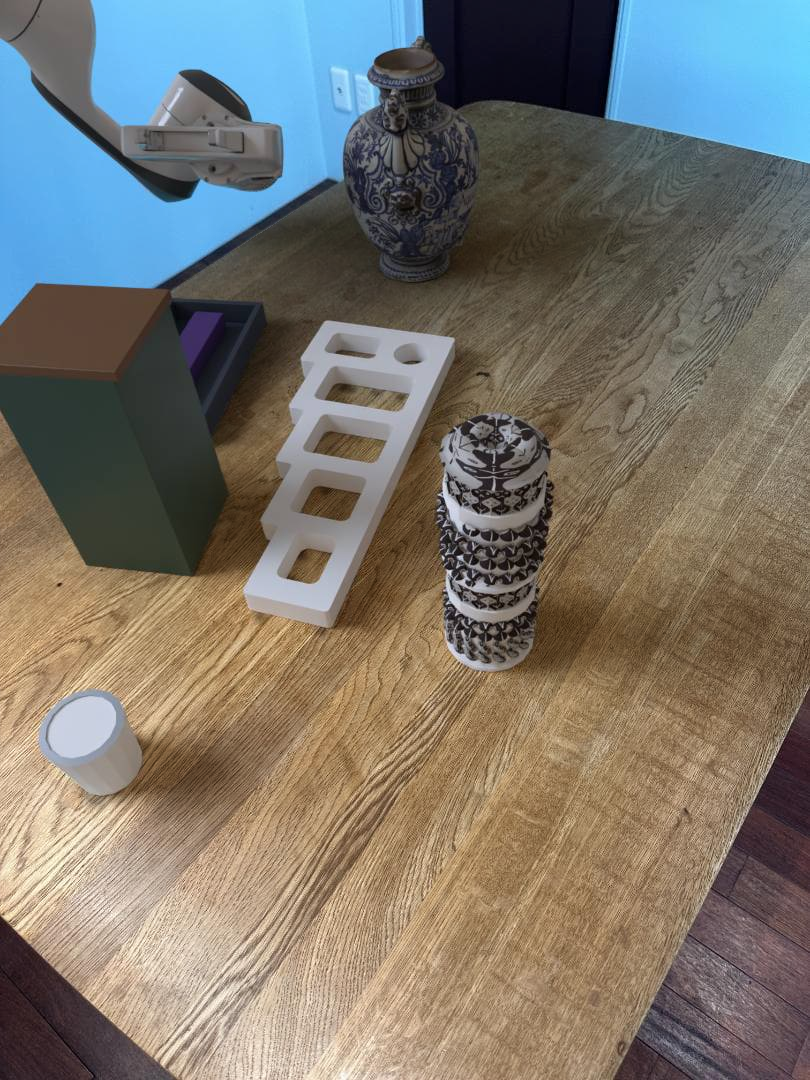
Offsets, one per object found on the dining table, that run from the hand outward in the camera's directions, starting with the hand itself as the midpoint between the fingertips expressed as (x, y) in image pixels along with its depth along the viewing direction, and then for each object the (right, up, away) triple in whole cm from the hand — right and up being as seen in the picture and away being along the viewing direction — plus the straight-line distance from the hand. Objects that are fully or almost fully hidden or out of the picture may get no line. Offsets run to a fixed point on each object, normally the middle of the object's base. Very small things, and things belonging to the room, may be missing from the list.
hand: (175, 136), depth 96 cm
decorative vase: (+29, -7, +26) cm, 39 cm away
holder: (+18, -38, -2) cm, 43 cm away
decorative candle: (+35, -57, -19) cm, 70 cm away
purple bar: (-1, -26, +10) cm, 28 cm away
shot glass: (+2, -67, -26) cm, 72 cm away
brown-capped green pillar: (0, -47, -8) cm, 47 cm away
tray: (-1, -27, +10) cm, 28 cm away
